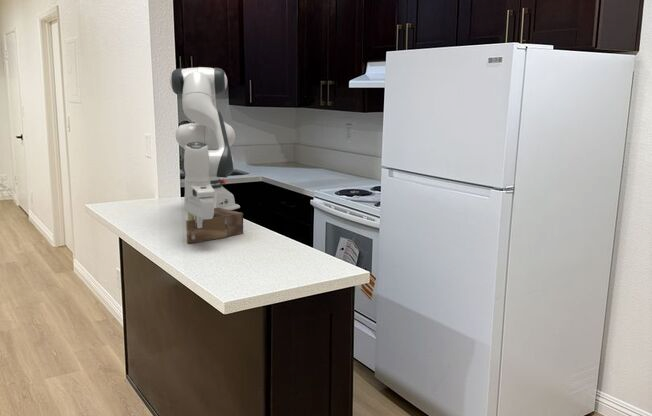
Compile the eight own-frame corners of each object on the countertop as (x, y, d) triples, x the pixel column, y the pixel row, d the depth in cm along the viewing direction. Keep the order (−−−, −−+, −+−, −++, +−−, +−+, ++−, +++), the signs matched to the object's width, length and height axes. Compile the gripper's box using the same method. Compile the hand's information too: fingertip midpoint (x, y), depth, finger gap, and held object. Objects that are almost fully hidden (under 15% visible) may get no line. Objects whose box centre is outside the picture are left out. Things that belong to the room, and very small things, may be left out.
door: (186, 242, 210) (186, 220, 208) (225, 236, 219) (225, 215, 218) (190, 243, 208) (189, 221, 206) (229, 237, 218) (228, 216, 216)
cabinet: (218, 227, 235) (217, 207, 233) (243, 233, 225) (243, 212, 224) (202, 230, 229) (201, 210, 227) (227, 237, 219) (226, 216, 218)
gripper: (179, 185, 213) (180, 223, 216) (199, 193, 196) (200, 234, 199) (196, 184, 217) (197, 221, 219) (217, 192, 200) (218, 231, 202)
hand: (198, 227), depth 209 cm, fingers closed
